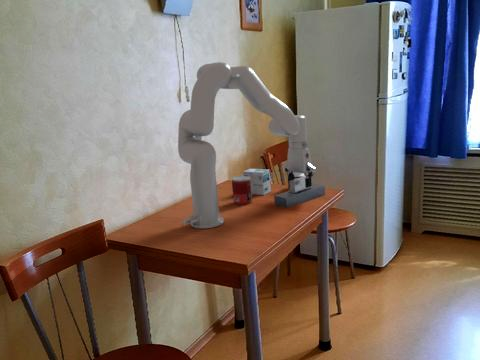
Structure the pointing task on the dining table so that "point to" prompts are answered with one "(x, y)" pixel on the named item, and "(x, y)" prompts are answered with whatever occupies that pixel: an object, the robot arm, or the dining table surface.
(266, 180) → the light bulb box
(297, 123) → the robot arm
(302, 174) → the medicine bottle
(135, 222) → the dining table surface
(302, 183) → the clip
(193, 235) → the dining table surface
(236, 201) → the canned food
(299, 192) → the grey slotted block
